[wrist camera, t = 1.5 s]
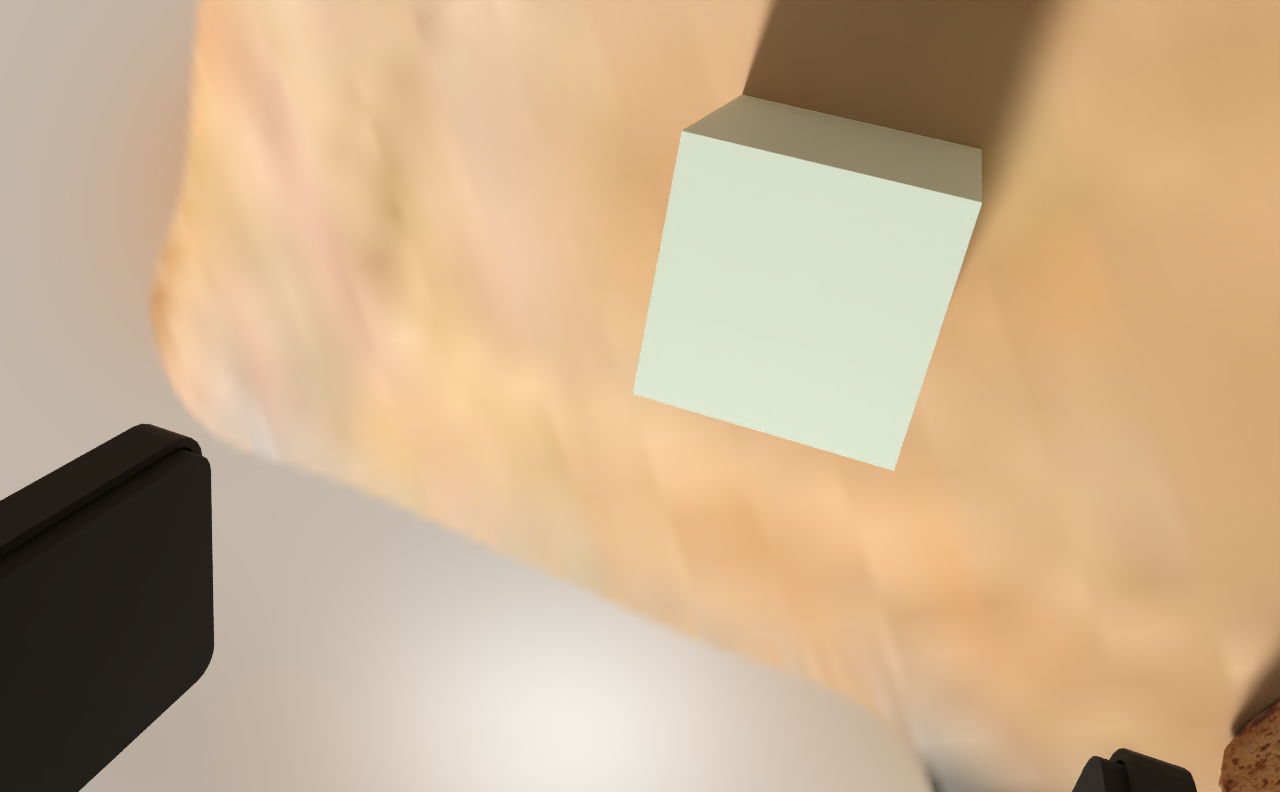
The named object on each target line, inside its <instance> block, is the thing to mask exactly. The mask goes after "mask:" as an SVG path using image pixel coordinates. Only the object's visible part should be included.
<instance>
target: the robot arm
mask: <svg viewBox="0 0 1280 792" xmlns="http://www.w3.org/2000/svg"><path fill="white" fill-rule="evenodd" d="M212 562H213V561H212V506H211V468H210V463H209V462H208V460H207V458H205V457H203V456H202V452H201V448H200V446H199V444H198V443H197V442H196V441H195V440H193V439H192V438H189V437H186V436H184V435H180V434H177V433H175V432H172V431H169V430H166V429H163V428H159V427H156V426H154V425H151V424H140V425H137V426H135V427H132V428H130V429H128V430H127V431H125V432H123V433H121V434H120V435H118V436H116V437H114V438H112V439H111V440H109V441H107V442H105V443H104V444H102V445H100V446H98V447H96V448H95V449H93V450H91V451H89V452H87V453H85V454H84V455H82V456H80V457H78V458H76V459H75V460H73V461H71V462H69V463H67V464H66V465H64V466H62V467H60V468H59V469H57V470H55V471H53V472H51V473H50V474H48V475H46V476H44V477H42V478H41V479H39V480H37V481H35V482H34V483H32V484H30V485H28V486H26V487H25V488H23V489H21V490H19V491H17V492H15V493H14V494H12V495H10V496H8V497H6V498H5V499H3V500H1V501H0V792H79V791H80V790H81V789H82V788H83V787H84V786H85V785H86V784H87V783H88V782H89V781H90V780H91V779H93V778H94V777H95V776H96V775H97V774H98V773H99V772H100V771H101V770H102V769H103V768H104V767H105V766H106V765H108V764H109V763H110V762H111V761H112V760H113V759H114V758H115V757H116V756H117V755H118V754H119V753H120V752H122V751H123V750H124V749H125V748H126V747H127V746H128V745H129V744H130V743H131V742H132V741H133V740H134V739H135V738H137V737H138V736H139V735H140V734H141V733H142V732H143V731H144V730H145V729H146V728H147V727H148V726H150V725H151V724H152V723H153V722H154V721H155V720H156V719H157V718H158V717H159V716H160V715H161V714H162V713H163V712H165V711H166V710H167V709H168V708H169V707H170V706H171V705H172V704H173V703H174V702H175V701H176V700H177V699H179V697H181V696H182V695H183V694H184V693H185V692H186V691H187V690H188V689H189V688H190V687H191V686H192V685H193V684H194V683H196V682H197V681H198V680H199V678H200V677H201V676H202V675H203V674H204V672H205V671H206V669H207V667H208V665H209V663H210V661H211V658H212V654H213V650H214V617H213V565H212V564H213V563H212ZM1072 792H1197V790H1196V786H1195V782H1194V780H1193V777H1192V775H1191V773H1190V772H1189V771H1188V770H1186V769H1185V768H1182V767H1179V766H1176V765H1173V764H1170V763H1167V762H1164V761H1161V760H1158V759H1155V758H1152V757H1149V756H1146V755H1143V754H1140V753H1137V752H1134V751H1131V750H1128V749H1125V748H1122V749H1118V750H1117V751H1116V752H1115V753H1113V755H1112V756H1111V758H1110V760H1107V759H1104V758H1101V757H1098V756H1093V757H1092V758H1090V759H1089V761H1088V762H1087V764H1086V765H1085V767H1084V769H1083V771H1082V773H1081V775H1080V777H1079V779H1078V781H1077V783H1076V785H1075V787H1074V789H1073V791H1072Z"/></svg>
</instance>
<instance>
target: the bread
mask: <svg viewBox="0 0 1280 792" xmlns="http://www.w3.org/2000/svg"><path fill="white" fill-rule="evenodd" d="M1221 771H1222V772H1221V776H1220V780H1219V784H1218V785H1219V786H1220V787H1221V789H1222V792H1280V701H1279V702H1277V703H1276V704H1274V705H1272V706H1270V707H1269V708H1267V709H1266V710H1264V711H1263V712H1261V713H1260V714H1258V715H1257V716H1256V717H1254V718H1253V719H1252V720H1251V721H1250V722H1249V723H1248V724H1247V725H1246V726H1244V727H1243V728H1242V729H1241V730H1240V731H1239V733H1238V734H1237V735H1236V736H1235V737H1234V739H1233V740H1232V741H1231V742H1230V744H1229V745H1228V746H1227V747H1226V748H1225V750H1224V756H1223V762H1222V767H1221Z"/></svg>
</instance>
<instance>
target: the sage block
mask: <svg viewBox="0 0 1280 792" xmlns="http://www.w3.org/2000/svg"><path fill="white" fill-rule="evenodd" d="M981 205H982V149H979V148H975V147H970V146H966V145H962V144H957V143H953V142H949V141H944V140H940V139H935V138H931V137H927V136H922V135H918V134H914V133H909V132H905V131H900V130H896V129H892V128H887V127H883V126H878V125H874V124H870V123H865V122H861V121H857V120H852V119H848V118H843V117H839V116H835V115H830V114H826V113H822V112H817V111H813V110H808V109H804V108H800V107H795V106H791V105H787V104H782V103H778V102H773V101H769V100H765V99H760V98H756V97H751V96H747V95H743V94H742V95H740V96H739V97H737V98H735V99H734V100H732V101H731V102H729V103H727V104H726V105H724V106H722V107H721V108H719V109H717V110H716V111H714V112H712V113H711V114H709V115H707V116H706V117H704V118H702V119H701V120H699V121H697V122H696V123H694V124H692V125H691V126H689V127H687V128H686V129H684V130H683V131H682V133H681V138H680V144H679V149H678V154H677V160H676V165H675V171H674V176H673V181H672V187H671V192H670V197H669V203H668V208H667V213H666V219H665V224H664V229H663V235H662V240H661V245H660V251H659V256H658V261H657V267H656V272H655V277H654V283H653V288H652V293H651V299H650V304H649V309H648V315H647V320H646V325H645V331H644V336H643V341H642V347H641V352H640V357H639V363H638V368H637V374H636V379H635V384H634V390H633V394H635V395H638V396H642V397H645V398H649V399H652V400H655V401H659V402H662V403H666V404H669V405H672V406H676V407H679V408H682V409H686V410H689V411H693V412H696V413H699V414H703V415H706V416H710V417H713V418H716V419H720V420H723V421H727V422H730V423H733V424H737V425H740V426H744V427H747V428H750V429H754V430H757V431H760V432H764V433H767V434H771V435H774V436H777V437H781V438H784V439H788V440H791V441H794V442H798V443H801V444H805V445H808V446H811V447H815V448H818V449H822V450H825V451H828V452H832V453H835V454H839V455H842V456H845V457H849V458H852V459H855V460H859V461H862V462H866V463H869V464H872V465H876V466H879V467H883V468H886V469H889V470H893V471H894V469H895V466H896V463H897V460H898V457H899V454H900V451H901V448H902V445H903V441H904V438H905V435H906V432H907V429H908V426H909V423H910V420H911V417H912V414H913V411H914V408H915V405H916V402H917V399H918V396H919V393H920V390H921V387H922V384H923V381H924V378H925V375H926V372H927V369H928V366H929V363H930V360H931V357H932V354H933V351H934V348H935V345H936V341H937V338H938V335H939V332H940V329H941V326H942V323H943V320H944V317H945V314H946V311H947V308H948V305H949V302H950V299H951V296H952V293H953V290H954V287H955V284H956V281H957V278H958V275H959V272H960V269H961V266H962V263H963V260H964V257H965V254H966V251H967V248H968V245H969V241H970V238H971V235H972V232H973V229H974V226H975V223H976V220H977V217H978V214H979V211H980V208H981Z"/></svg>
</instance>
